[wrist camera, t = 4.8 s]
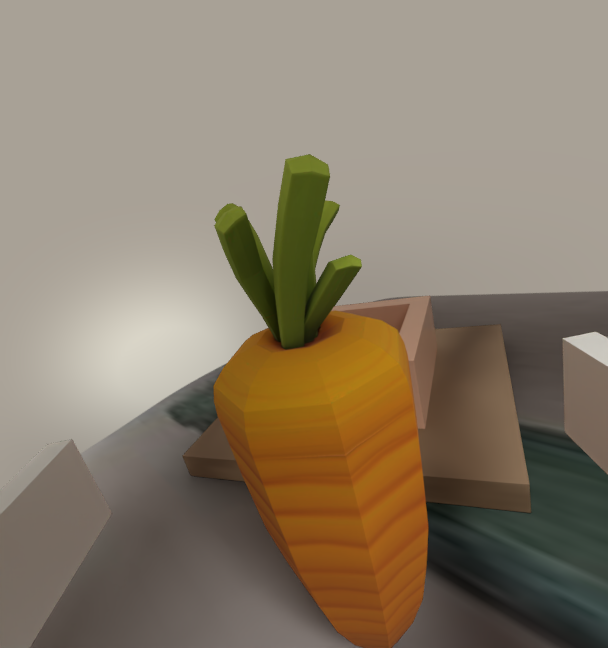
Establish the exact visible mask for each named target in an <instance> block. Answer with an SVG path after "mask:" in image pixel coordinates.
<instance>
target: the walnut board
mask: <svg viewBox="0 0 608 648" xmlns="http://www.w3.org/2000/svg"><path fill="white" fill-rule="evenodd" d="M435 334H436V341H437V353H436V360H435V367H434V373H433V380H432V387H431V393H430V400H429V407H428V413H427V420H426V427H425V429H418V435H419V444H420V453H421V462H422V471H423V481H424V490H425V500H426V502H435V503H444V504H453V505H463V506H472V507H481V508H490V509H499V510H508V511H517V512H526V513H531V501H530V485H529V479H528V474H527V468H526V462H525V457H524V451H523V446H522V440H521V435H520V429H519V424H518V418H517V413H516V407H515V402H514V396H513V391H512V385H511V379H510V374H509V368H508V363H507V357H506V352H505V346H504V341H503V335H502V330H501V324H498V325H484V326H471V327H457V328H444V329H435ZM183 459H184V461H185V463H186V466H187V468H188V470H189V473H190V475H191V476H198V477H207V478H216V479H226V480H235V481H244V479H243V476H242V474H241V472H240V469H239V467H238V464H237V462H236V459H235V457H234V454H233V452H232V450H231V447H230V445H229V442H228V440H227V437H226V435H225V432H224V430H223V428H222V425H221V423H220V420H219V418H217V419H216V420H215V421H214V422H213V423H212V424H211V425H210V426H209V427H208V428H207V430H206V431H205V432H204V433H203V434H202V435H201V436H200V437H199V438H198V439H197V441H196V442H195V443H194V444H193V445H192V446H191V447H190V448H189V449H188V450H187V451H186V453H185V454H184V455H183ZM244 482H245V481H244Z"/></svg>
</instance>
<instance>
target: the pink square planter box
mask: <svg viewBox="0 0 608 648" xmlns="http://www.w3.org/2000/svg"><path fill="white" fill-rule="evenodd" d="M335 310H336V311H341V312H346V313H350V314H355V315H360V316H364V317H369V318H373V319H378V320H382V321H384V322H385V323H387V324H389V325H390V326H392V327H394V328H395V329H397V330H398V332H399V334H400V336H401V337H402V339H403V341H404V344H405V347H406V351H407V354H408V360H409V367H410V374H411V381H412V388H413V396H414V403H415V410H416V417H417V426H418V429H425V427H426V420H427V413H428V407H429V400H430V393H431V387H432V380H433V373H434V367H435V360H436V353H437V341H436V334H435V327H434V320H433V313H432V305H431V298H430V296H422V297H413V298H404V299H395V300H386V301H377V302H368V303H359V304H350V305H342V306H334V307H333V309H332V310H331V311H335Z"/></svg>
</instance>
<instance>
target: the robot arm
mask: <svg viewBox="0 0 608 648" xmlns="http://www.w3.org/2000/svg"><path fill="white" fill-rule="evenodd" d="M563 379H564V427H565V433H566V434H567V435H568V436H569V437H570V438H571V439H572V440H573V441H574V442H575V443H576V444H577V445H578V446H579V447H580V448H581V449H582V450H583V451H584V452H585V453H586V454H587V455H589V456H590V457H591V458H592V459H593V460H594V461H595V462H596V463H597V464H598V465H599V466H600V467H601V468H602V469H603V470H604V471H605V472H606V473H607V474H608V338H607V337H605V336H603V335H601V334H599V333H597V332H592V333H587V334H582V335H577V336H572V337H567V338H563ZM111 514H112V512H111V510H110V508H109V507H108V505H107V503H106V501H105V499H104V497H103V495H102V494H101V492H100V490H99V488H98V486H97V484H96V483H95V481H94V479H93V477H92V475H91V473H90V471H89V470H88V468H87V466H86V464H85V462H84V460H83V458H82V457H81V455H80V453H79V451H78V450H77V447H76V446H75V444H74V442H73V440H72V439H70V440H65V441H60V442H56V443H51V444H47V445H46V446H45V447H44V448H43V449H42V450H41V451H40V452H39V453H38V454H37V455H36V456H35V457H34V458H33V459H32V460H31V461H30V462H29V463H28V464H27V465H25V466H24V467H23V468H22V469H21V470H20V471H19V473H17V474H16V475H15V476H14V477H13V478H12V479H11V480H10V481H9V482H8V483H7V484H6V485H5V486H4V487H3V488H2V489H1V490H0V648H30V647H31V645H32V643H33V642H34V640H35V638H36V637H37V635H38V633H39V632H40V630H41V629H42V627H43V625H44V624H45V622H46V620H47V619H48V617H49V616H50V614H51V612H52V611H53V609H54V607H55V606H56V604H57V603H58V601H59V599H60V598H61V596H62V594H63V593H64V591H65V589H66V588H67V586H68V585H69V583H70V581H71V580H72V578H73V576H74V575H75V573H76V572H77V570H78V568H79V567H80V565H81V563H82V562H83V560H84V558H85V557H86V555H87V554H88V552H89V550H90V549H91V547H92V545H93V544H94V542H95V541H96V539H97V537H98V536H99V534H100V532H101V531H102V529H103V528H104V526H105V524H106V523H107V521H108V519H109V518H110V516H111Z"/></svg>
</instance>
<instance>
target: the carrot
mask: <svg viewBox="0 0 608 648" xmlns="http://www.w3.org/2000/svg"><path fill="white" fill-rule="evenodd" d="M329 178H330V173H329V167H328V164H326V163H324V162H322V161H321V160H319V159H317V158H315V157H314V156H312V155H310V154H308V155H304V156H299V157H294V158H289V159H286V161H285V167H284V172H283V178H282V185H281V190H280V197H279V203H278V211H277V221H276V230H275V240H274V250H273V269H272V266H271V264H270V262H269V260H268V257H267V255H266V253H265V250H264V248H263V246H262V244H261V242H260V239H259V237H258V235H257V233H256V232H255V230H254V228H253V227H252V225H251V223H250V222H249V220H248V218H247V215H246V213H245V211H244V210H243V209H242V207H238V206H236V205H235V204H233V203H232V204H227V205H226V206H224V207H223V208H222V209H221V210H220V211H219V213H218V214H217V216H216V218H215V221H216V224H215V225H214V226H215V229H216V231H217V234H218V237H219V240H220V242H221V245H222V248H223V250H224V252H225V255H226V257H227V259H228V261H229V264H230V266H231V268H232V270H233V272H234V275H235V277H236V279H237V280H238V282H239V283H240V285H241V286H242V288H243V289H244V291H245V292H246V294H247V295H248V297H249V298H250V300H251V301H252V303H253V304H254V305H255V307H256V308H257V310H258V311H259V313H260V314H261V316H262V317H263V319H264V321H265V322H266V324H267V326H268V327H269V328H267V329H265V330H263V331H260V332H258V333H256V334H254V335H252V336H251V337H250V338H248V339H247V340H246V341H245V342H244V343H243V345H242V346H241V347H240V348H239V350H238V351H237V352H236V353H235V354H234V356H233V357H232V358H231V359H230V360H229V362H228V363H227V364H226V365H225V367H224V368H223V370H222V371H221V373H220V375H219V377H218V379H217V380H216V382H215V384H214V403H215V407H216V411H217V415H218V418H219V420H220V423H221V425H222V428H223V430H224V432H225V435H226V437H227V440H228V442H229V445H230V447H231V450H232V452H233V454H234V457H235V459H236V462H237V464H238V467H239V469H240V472H241V474H242V476H243V479H244V481H245V483H246V485H247V487H248V490H249V492H250V494H251V496H252V498H253V501H254V503H255V505H256V507H257V509H258V512H259V514H260V516H261V518H262V520H263V523H264V525H265V527H266V529H267V530H268V532H269V534H270V535H271V537H272V538H273V540H274V542H275V543H276V545H277V546H278V548H279V550H280V551H281V553H282V554H283V556H284V557H285V559H286V561H287V562H288V564H289V565H290V567H291V568H292V569H293V571H294V572H295V574H296V575H297V576H298V578H299V579H300V581H301V582H302V584H303V585H304V586H305V588H306V589H307V591H308V592H309V593H310V595H311V596H312V598H313V599H314V600H315V602H316V603H317V604H318V606H319V607H320V609H321V610H322V611H323V613H324V614H325V615H326V617H327V618H328V620H329V621H330V622H331V624H332V625H333V626H334V628H335V629H336V631H337V632H338V633H340V634H341V635H342V636H344V637H345V638H346V639H348V640H349V641H350V642H352V643H353V644H354V645H356V646H360V647H363V648H392V647H393V646H394V645H395V644H396V643H397V642H398V640H399V639H400V638H401V637H402V636H403V634H404V633H405V632H406V631H407V629H408V628H409V627H410V626H411V624H412V623H413V621H414V619H415V616H416V614H417V612H418V609H419V607H420V605H421V602H422V600H423V593H424V584H425V575H426V567H427V546H428V519H427V509H426V500H425V490H424V481H423V471H422V462H421V453H420V444H419V435H418V426H417V417H416V410H415V403H414V396H413V388H412V381H411V374H410V367H409V360H408V354H407V351H406V347H405V344H404V341H403V339H402V337H401V336H400V334H399V332H398V330H397V329H395V328H394V327H392V326H390V325H389V324H387V323H385V322H384V321H382V320H378V319H373V318H369V317H364V316H360V315H355V314H350V313H346V312H341V311H336V310H335V311H331V310H332V309H333V307H334V306H335V305H336V303H337V302H338V300H339V299H340V298H341V296H342V295H343V293H344V292H345V290H346V289H347V287H348V286H349V285H350V283H351V282H352V280H353V279H354V277H355V276H356V275H357V273H358V272H359V270H360V269H361V267H362V264H361V260H360V259H358V258H357V257H355V256H353V255H348V256H345V257H342V258H339V259H336V260H333V261H330V262H328V264H327V266H326V268H325V270H324V271H323V273H322V275H321V277H320V278H319V280H318V282H317V284H316V275H315V267H316V263H317V259H318V255H319V251H320V248H321V245H322V242H323V239H324V235H325V233H326V231H327V230H328V228H329V226H330V225H331V223H332V222H333V220H334V218H335V216H336V214H337V213H338V211H339V206H340V205H339V204H337V203H335V202H333V201H325V198H326V193H327V188H328V183H329Z"/></svg>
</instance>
